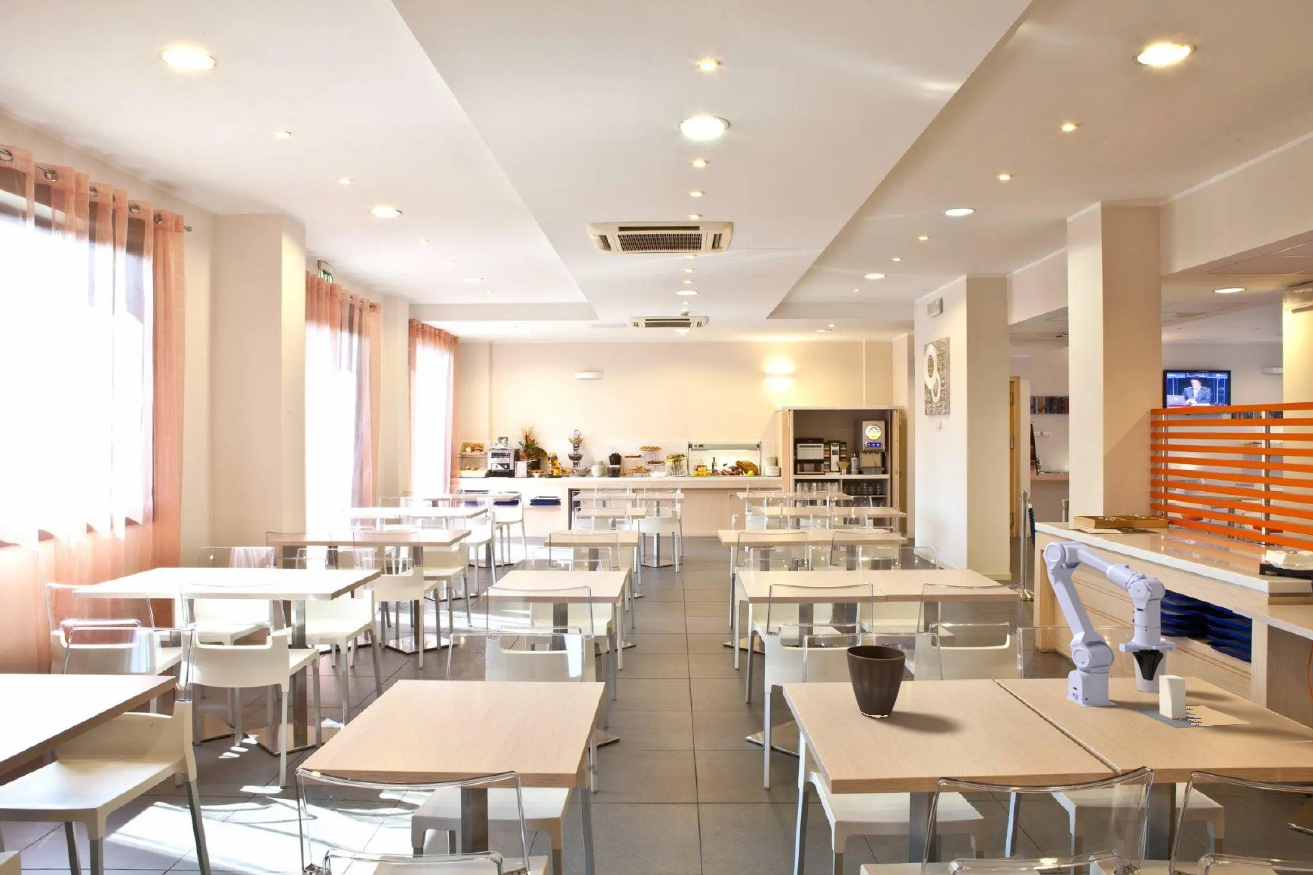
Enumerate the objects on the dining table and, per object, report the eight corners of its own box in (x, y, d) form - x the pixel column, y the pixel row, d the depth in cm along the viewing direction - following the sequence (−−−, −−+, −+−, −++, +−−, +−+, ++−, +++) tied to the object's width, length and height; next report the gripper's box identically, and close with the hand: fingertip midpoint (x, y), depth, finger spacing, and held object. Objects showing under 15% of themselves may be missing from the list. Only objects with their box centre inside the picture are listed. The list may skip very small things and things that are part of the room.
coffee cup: (1123, 688, 237) (1122, 636, 237) (1145, 684, 241) (1144, 633, 241) (1155, 697, 228) (1155, 643, 229) (1177, 693, 232) (1177, 639, 233)
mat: (1176, 729, 201) (1176, 727, 201) (1128, 709, 217) (1128, 708, 217) (1254, 725, 204) (1254, 723, 204) (1202, 706, 220) (1202, 704, 220)
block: (1171, 719, 207) (1171, 679, 208) (1159, 714, 211) (1159, 675, 212) (1185, 718, 208) (1185, 678, 208) (1173, 713, 212) (1173, 674, 212)
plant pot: (918, 719, 208) (918, 655, 208) (869, 726, 202) (869, 660, 202) (881, 702, 221) (881, 643, 222) (834, 708, 216) (834, 647, 216)
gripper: (1133, 629, 204) (1133, 684, 204) (1185, 628, 206) (1185, 682, 206) (1113, 624, 211) (1113, 677, 211) (1163, 622, 213) (1164, 675, 213)
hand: (1147, 679), depth 209 cm, fingers closed
